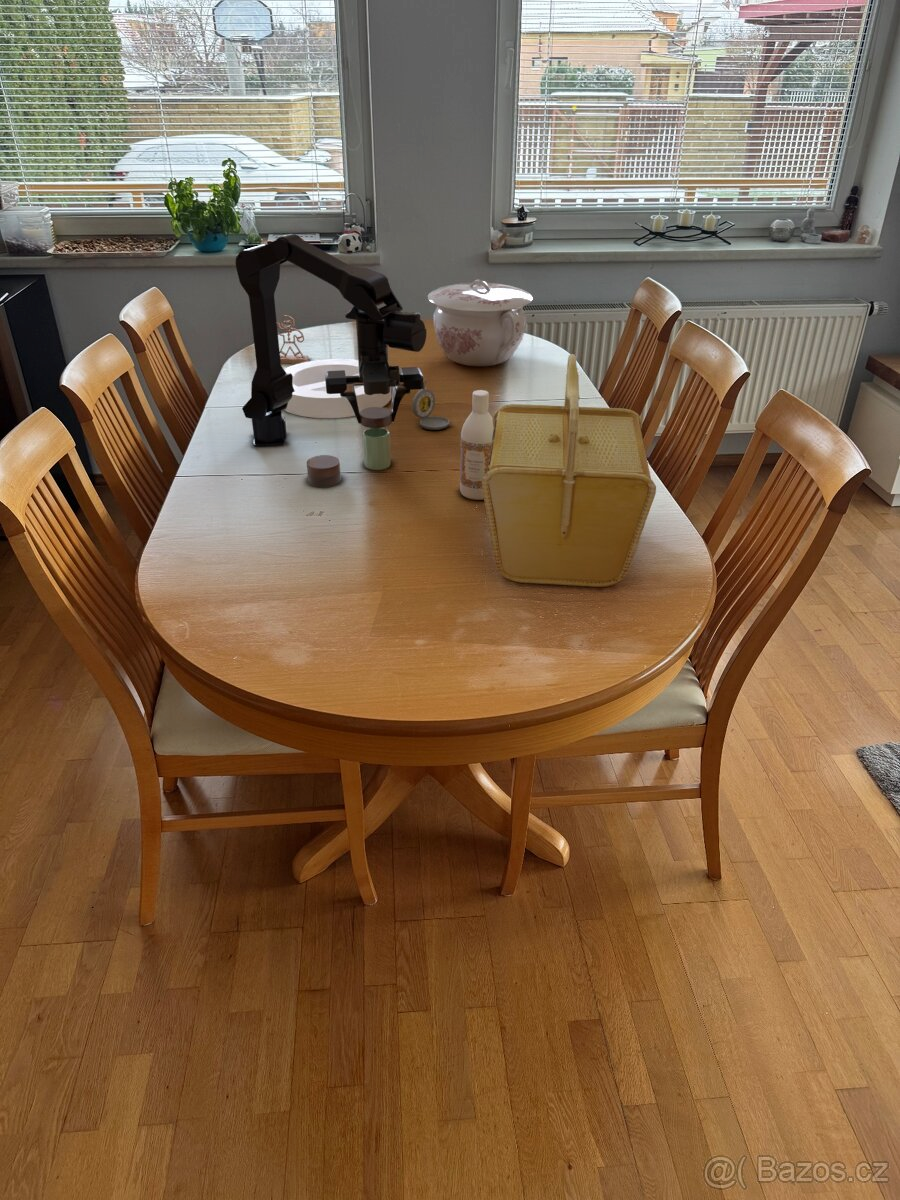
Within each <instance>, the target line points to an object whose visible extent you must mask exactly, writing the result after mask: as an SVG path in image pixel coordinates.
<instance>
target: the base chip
mask: <svg viewBox="0 0 900 1200" xmlns="http://www.w3.org/2000/svg"><path fill="white" fill-rule="evenodd" d="M341 481H342V476H341V471H340V472H339V473H338V474H337V475H335V476H333V477H329V478H316V477H312V476H310V475H309V474H308V473H307V482H308V484H309V485H311V486H312V487H316V488H330V487H334V486H337V485H338V484H340V482H341Z"/></svg>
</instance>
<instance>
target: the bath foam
mask: <svg viewBox="0 0 900 1200" xmlns="http://www.w3.org/2000/svg"><path fill="white" fill-rule="evenodd" d="M489 396H490V394H489V391H487V390H484V389H477V390H474V391H473V392H472V396H471V397H472V401H471V403H472V404H471V406H472V407H471V410H472V411H471V412H470V414H469V415H468V417H467V418H466V419H465V421H464V423H463V425H462V428H461V431H460V457H459V459H460V460H459V462H460V466H459V468H460V470H459V479H460V480H459V491H460V494H461V496H463V497H464V498H466V499H470V500H474V501H478V500H479V501H483V500H484V495H483V489H482V479H483V477H484V476H485V475H486V473H487V468H488V462H489V456H490V449H491V443H492V437H493V431H494V428H493V416H492V415H491V414H490V412H489V400H490V399H489Z"/></svg>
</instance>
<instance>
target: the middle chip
mask: <svg viewBox="0 0 900 1200" xmlns="http://www.w3.org/2000/svg"><path fill="white" fill-rule="evenodd" d="M306 472H307V475H308V474H309V475H310V476H312V477H316V478H329V477H333V476H335V475H337V474H338V473H339V472H340V473H341V463H340V459H339V458H338V457H336V456H333V455H329V454H321V455H316V456H312V457H310V458H308V459H307V461H306Z"/></svg>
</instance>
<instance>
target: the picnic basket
mask: <svg viewBox="0 0 900 1200" xmlns="http://www.w3.org/2000/svg"><path fill="white" fill-rule="evenodd" d="M579 376H580V375H579V371H578V368H577V356H576V354H574V353H570V354H569V355H568V356H567V365H566V375H565V391H564V403H563V404H564V405H548V404H547V405H546V404H521V403H509V404H504V405H502V406H500V407H498V408H497V409H496V410H495V412H494V413H493V414H492V418H493V428H494V431H493V437H492V443H491V449H490V456H489V462H488V468H487V473H486V475H485V476H484V477H483V479H482V489H483V495H484V506H485V513H486V519H487V525H488V531H489V535H490V543H491V547H492V548H491V549H492V553H493V560H494V565H495V568H496V569H497V571H498V573H499V574H500V575H502V576H503V577H504V578H506V579H507V580H510V581H512V582H516V583H523V584H541V585H556V586H557V585H559V586H574V587H576V586H577V587H590V588H591V587H592V588H603V587H609V586H613V585H616V584H618V583H619V582H620V581H623V579H625V577H626V575H627V574H628V573H629V569H630V567H631V564H632V561H633V558H634V556H635V552H636V550H637V548H638V545H639V541H640V539H641V536H642V533H643V531H644V528H645V524H646V522H647V519H648V516H649V514H650V510H651V508H652V505H653V502H654V500H655V497H656V494H657V485H656V484H655V482H654V480H653V479H652V477H651V472H650V467H649V463H648V458H647V452H646V448H645V443H644V438H643V433H642V427H643V420H642V417H641V416H640V415H639V413H637V412H635V411H634V410H633V409H629V408H624V407H623V408H622V407H621V408H619V407H596V406H579V405H580V403H579V401H580V398H581V395H580V381H579V379H580V378H579Z"/></svg>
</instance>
